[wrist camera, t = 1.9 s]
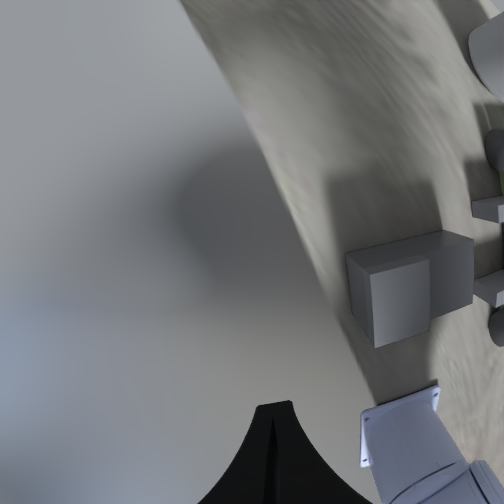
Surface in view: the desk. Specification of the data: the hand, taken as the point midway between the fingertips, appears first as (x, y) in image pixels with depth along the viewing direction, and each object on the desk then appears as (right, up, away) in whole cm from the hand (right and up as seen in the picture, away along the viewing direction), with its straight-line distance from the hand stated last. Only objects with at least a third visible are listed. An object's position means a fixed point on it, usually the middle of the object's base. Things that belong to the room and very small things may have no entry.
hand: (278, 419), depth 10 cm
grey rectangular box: (+9, +5, +8) cm, 13 cm away
